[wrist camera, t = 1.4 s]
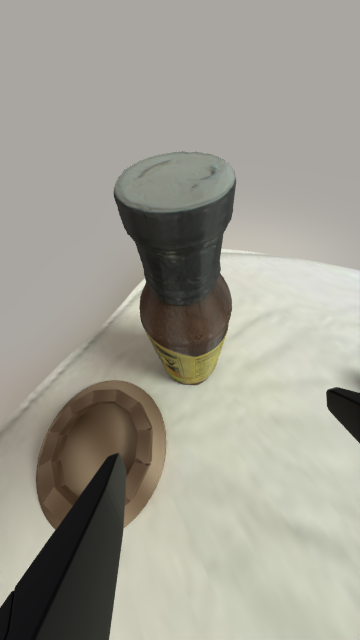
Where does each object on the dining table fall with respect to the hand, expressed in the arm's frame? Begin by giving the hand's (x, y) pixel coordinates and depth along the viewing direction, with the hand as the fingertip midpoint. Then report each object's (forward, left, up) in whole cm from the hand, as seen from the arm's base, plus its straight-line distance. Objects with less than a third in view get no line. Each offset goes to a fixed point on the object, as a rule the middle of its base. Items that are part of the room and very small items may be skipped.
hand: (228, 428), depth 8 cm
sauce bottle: (+6, +5, -14) cm, 16 cm away
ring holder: (-6, +9, -13) cm, 17 cm away
